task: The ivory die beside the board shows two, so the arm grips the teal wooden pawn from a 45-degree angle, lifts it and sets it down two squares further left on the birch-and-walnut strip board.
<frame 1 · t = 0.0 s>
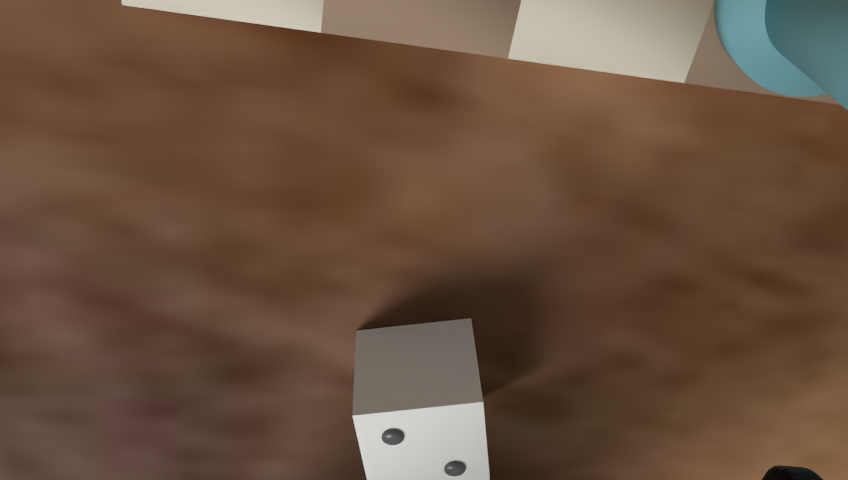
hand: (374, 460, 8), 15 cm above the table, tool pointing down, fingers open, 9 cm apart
die: (419, 364, 28), on the table
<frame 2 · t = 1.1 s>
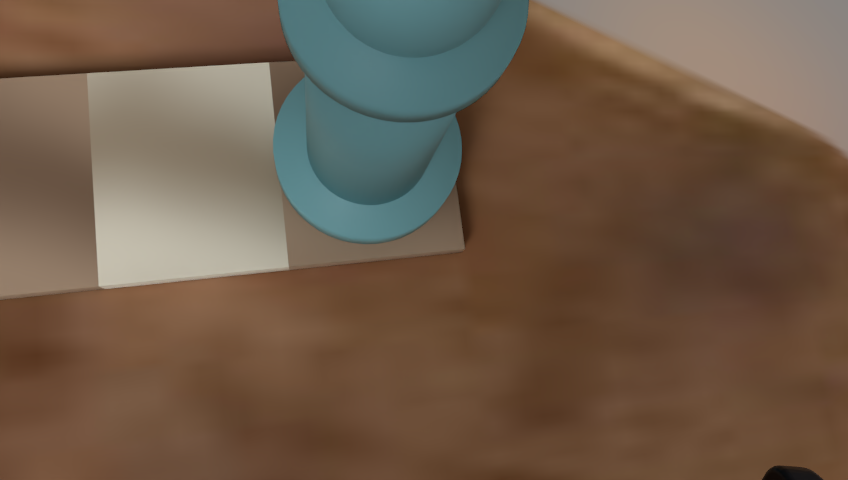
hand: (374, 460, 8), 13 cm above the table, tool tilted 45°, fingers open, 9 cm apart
pawn: (366, 155, 22), point 1 cm above the table, touching board
board: (98, 182, 21), on the table
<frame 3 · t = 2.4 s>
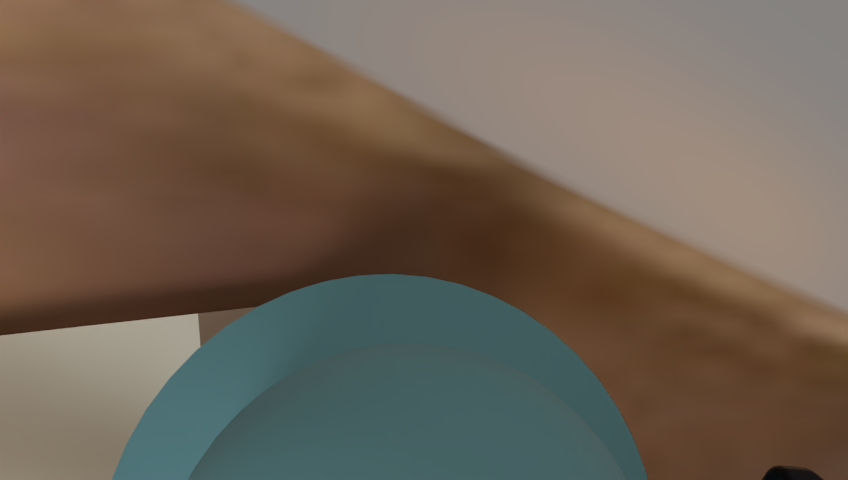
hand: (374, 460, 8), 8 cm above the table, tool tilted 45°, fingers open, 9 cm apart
pawn: (341, 450, 15), point 1 cm above the table, touching board
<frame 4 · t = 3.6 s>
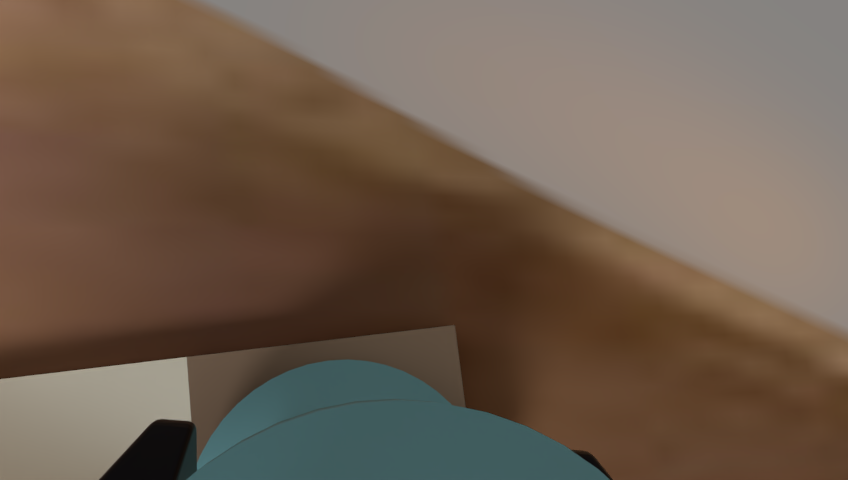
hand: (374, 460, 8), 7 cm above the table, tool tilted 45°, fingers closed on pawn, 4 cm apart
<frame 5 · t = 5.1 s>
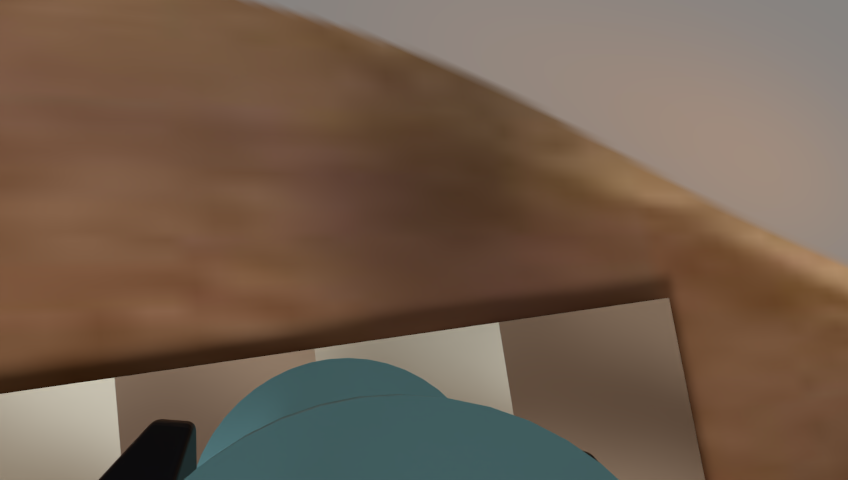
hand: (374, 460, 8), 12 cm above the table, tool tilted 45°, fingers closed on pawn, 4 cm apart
board: (328, 463, 20), on the table
when the fingers open (7 cm above the table, at t = 6.6 s): pawn stays where it is, resting on board.
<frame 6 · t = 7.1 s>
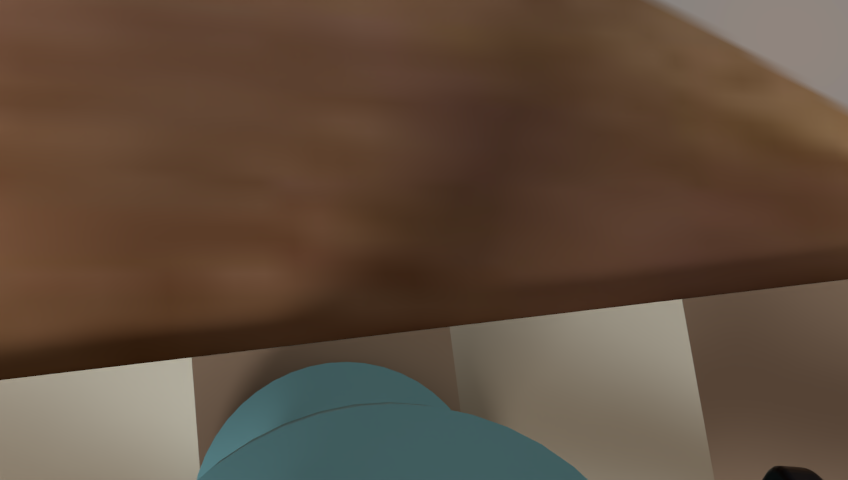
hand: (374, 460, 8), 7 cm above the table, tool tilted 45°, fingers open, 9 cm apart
board: (463, 477, 15), on the table
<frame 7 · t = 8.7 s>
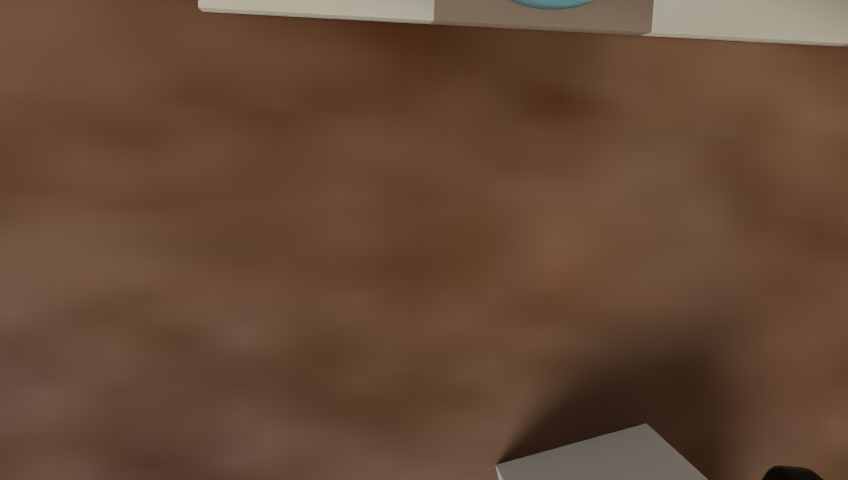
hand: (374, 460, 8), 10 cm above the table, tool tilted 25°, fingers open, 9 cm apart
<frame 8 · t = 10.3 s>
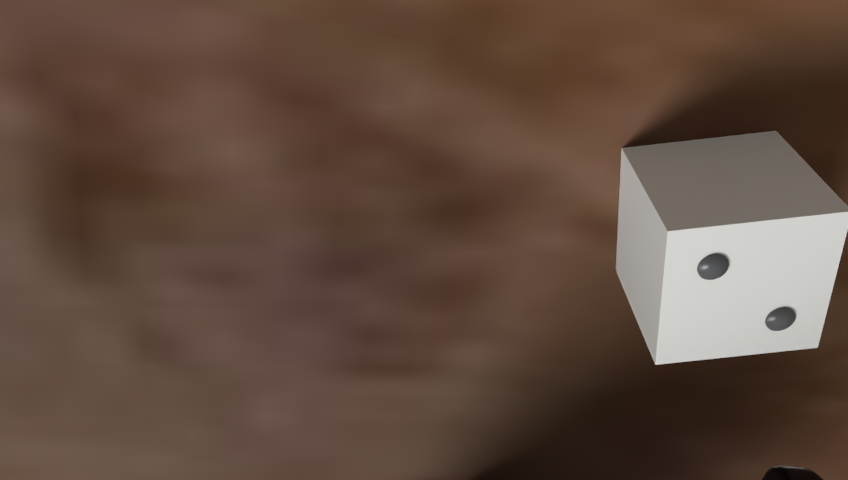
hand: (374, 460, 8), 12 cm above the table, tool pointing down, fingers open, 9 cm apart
die: (690, 202, 21), on the table
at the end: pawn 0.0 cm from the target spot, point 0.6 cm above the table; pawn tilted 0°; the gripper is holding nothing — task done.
